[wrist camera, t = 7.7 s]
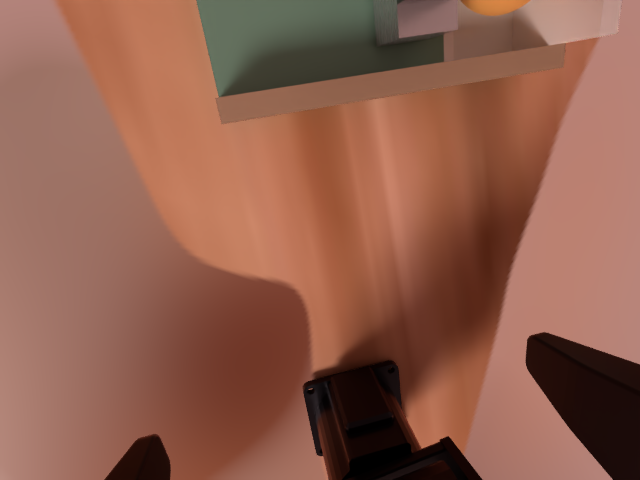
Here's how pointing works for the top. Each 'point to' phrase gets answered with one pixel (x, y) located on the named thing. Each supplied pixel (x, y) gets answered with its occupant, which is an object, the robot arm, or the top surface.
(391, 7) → the block
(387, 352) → the top surface
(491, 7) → the ball
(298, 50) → the pitch
